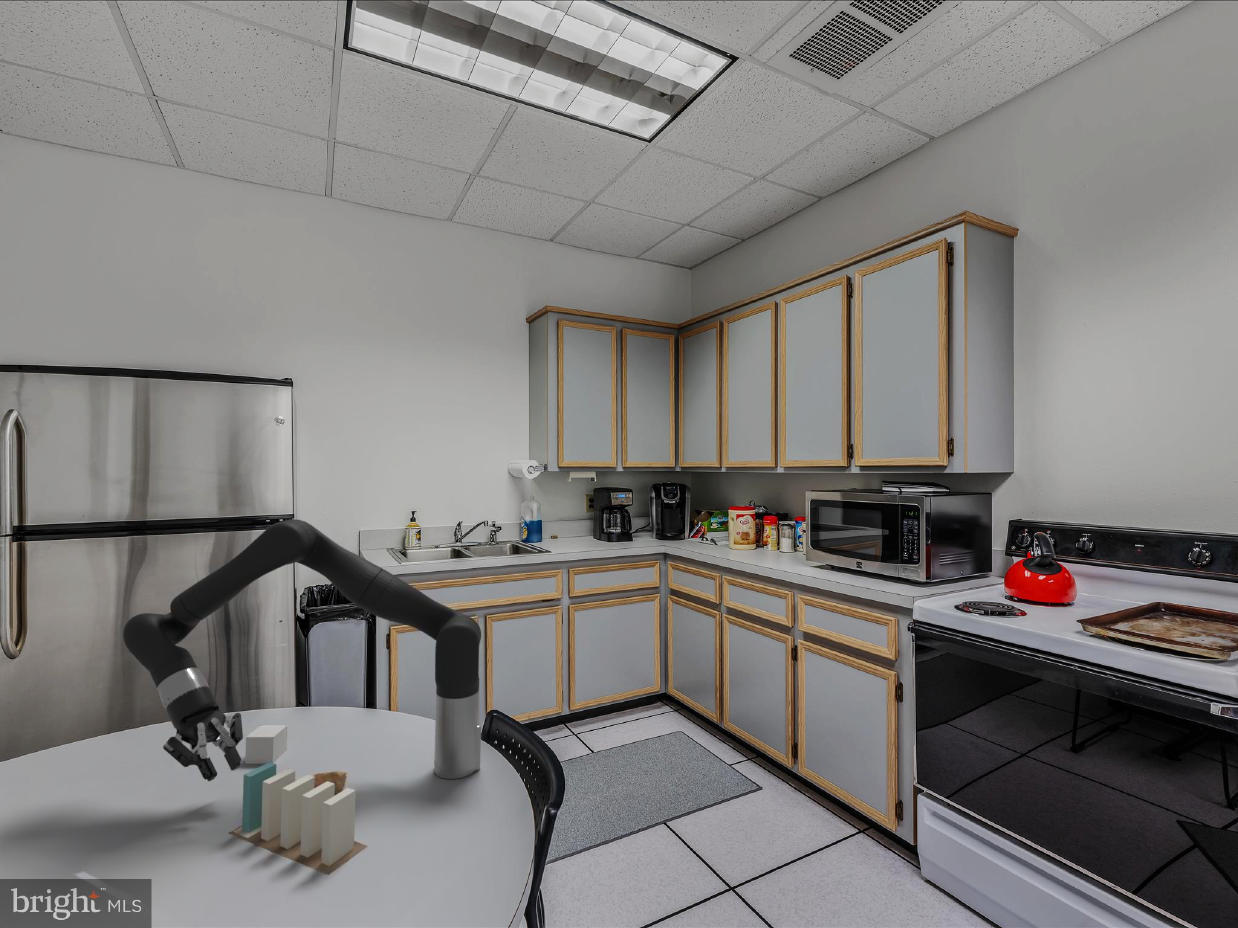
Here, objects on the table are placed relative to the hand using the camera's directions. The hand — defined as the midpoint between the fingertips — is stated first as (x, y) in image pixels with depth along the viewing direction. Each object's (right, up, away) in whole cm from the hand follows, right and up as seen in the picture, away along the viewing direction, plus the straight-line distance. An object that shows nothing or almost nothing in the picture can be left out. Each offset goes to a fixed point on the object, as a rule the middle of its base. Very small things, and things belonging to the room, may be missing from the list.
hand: (225, 772), depth 111 cm
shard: (+16, -9, +11) cm, 21 cm away
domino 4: (+27, -8, -12) cm, 31 cm away
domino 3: (+23, -8, -10) cm, 26 cm away
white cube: (-5, -8, +22) cm, 24 cm away
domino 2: (+18, -8, -8) cm, 21 cm away
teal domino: (+9, -7, -4) cm, 12 cm away
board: (+18, -8, -8) cm, 22 cm away
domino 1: (+14, -7, -6) cm, 17 cm away
